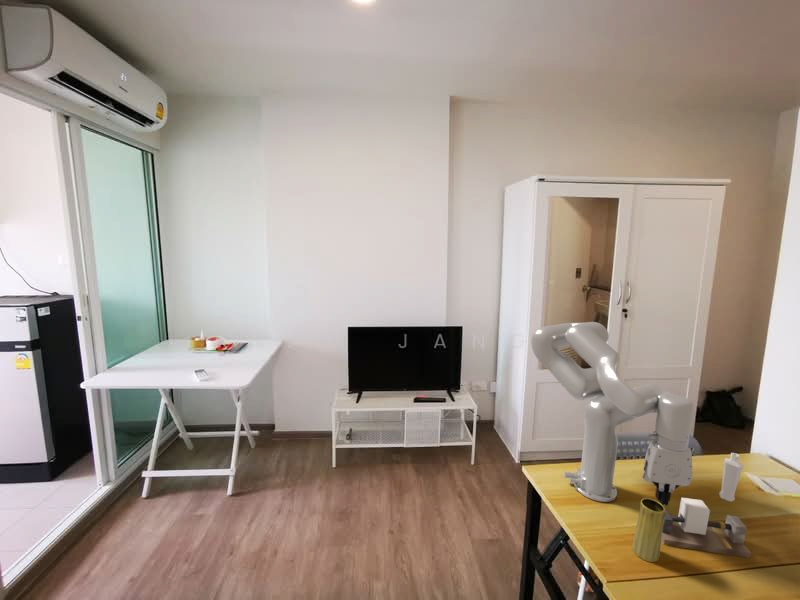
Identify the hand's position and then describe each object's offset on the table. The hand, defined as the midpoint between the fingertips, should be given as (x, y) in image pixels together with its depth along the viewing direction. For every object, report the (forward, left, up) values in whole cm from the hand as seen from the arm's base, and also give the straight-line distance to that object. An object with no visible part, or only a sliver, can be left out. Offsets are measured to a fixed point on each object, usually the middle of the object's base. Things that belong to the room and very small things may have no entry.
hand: (662, 501), depth 106 cm
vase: (-6, -9, -10) cm, 14 cm away
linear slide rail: (+10, 0, -10) cm, 14 cm away
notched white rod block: (+8, 0, -7) cm, 11 cm away
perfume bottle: (+28, +20, -10) cm, 36 cm away
